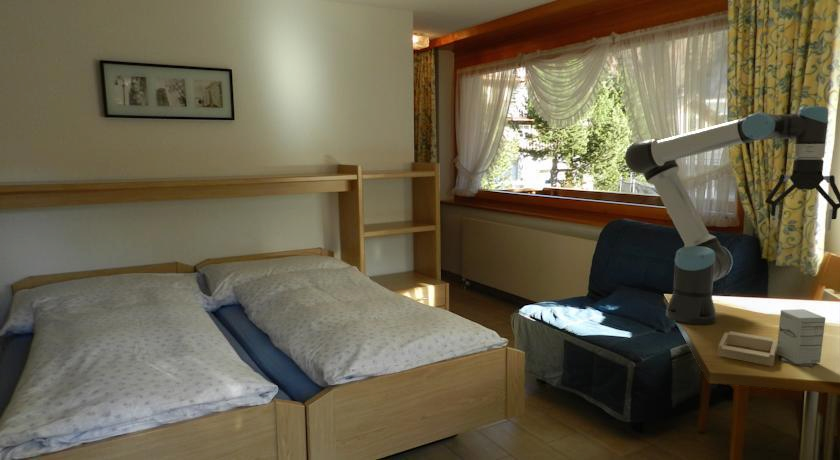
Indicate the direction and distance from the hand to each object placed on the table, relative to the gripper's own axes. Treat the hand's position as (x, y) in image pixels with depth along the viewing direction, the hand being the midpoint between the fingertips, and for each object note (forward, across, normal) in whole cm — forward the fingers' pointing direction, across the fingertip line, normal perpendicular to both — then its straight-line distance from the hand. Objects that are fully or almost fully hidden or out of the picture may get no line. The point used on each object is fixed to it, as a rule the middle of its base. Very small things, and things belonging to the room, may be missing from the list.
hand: (801, 228), depth 174 cm
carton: (+32, -9, -34) cm, 47 cm away
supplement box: (+31, +3, -32) cm, 45 cm away
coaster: (+32, +2, -32) cm, 45 cm away
